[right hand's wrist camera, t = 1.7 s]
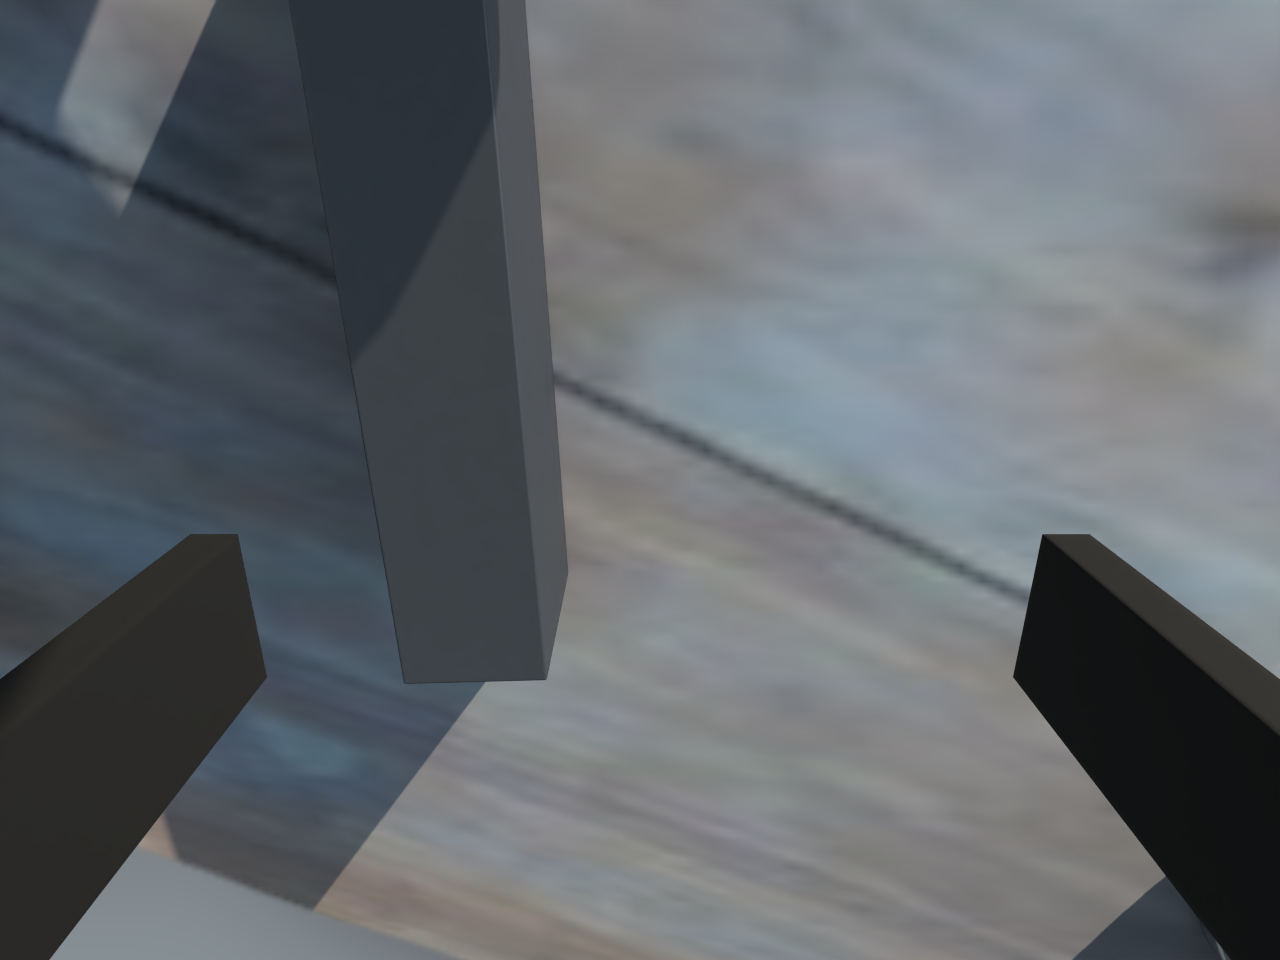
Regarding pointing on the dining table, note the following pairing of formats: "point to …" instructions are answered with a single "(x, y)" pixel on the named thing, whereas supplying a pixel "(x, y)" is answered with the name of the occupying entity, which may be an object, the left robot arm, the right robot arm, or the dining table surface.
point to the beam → (444, 319)
